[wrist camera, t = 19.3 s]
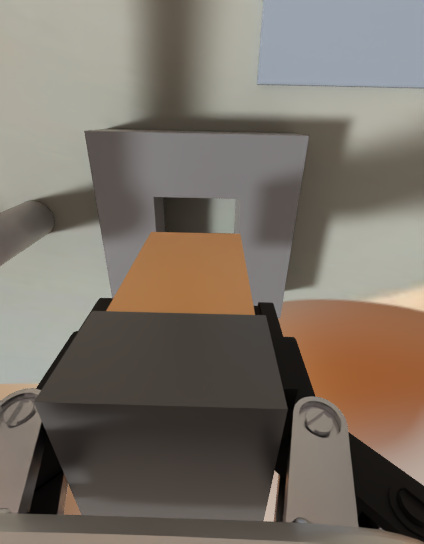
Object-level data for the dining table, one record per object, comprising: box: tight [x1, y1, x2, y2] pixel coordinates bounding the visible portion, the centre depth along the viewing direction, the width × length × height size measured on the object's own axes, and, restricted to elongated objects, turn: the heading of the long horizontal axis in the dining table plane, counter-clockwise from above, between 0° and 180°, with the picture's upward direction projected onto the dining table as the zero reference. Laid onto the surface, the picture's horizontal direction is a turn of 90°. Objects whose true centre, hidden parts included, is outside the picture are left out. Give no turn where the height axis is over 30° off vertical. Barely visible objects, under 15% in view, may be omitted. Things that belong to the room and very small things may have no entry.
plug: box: [34, 232, 288, 521], centre depth 11 cm, size 5×5×10 cm
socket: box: [0, 129, 309, 318], centre depth 20 cm, size 22×14×10 cm, turn 89°
